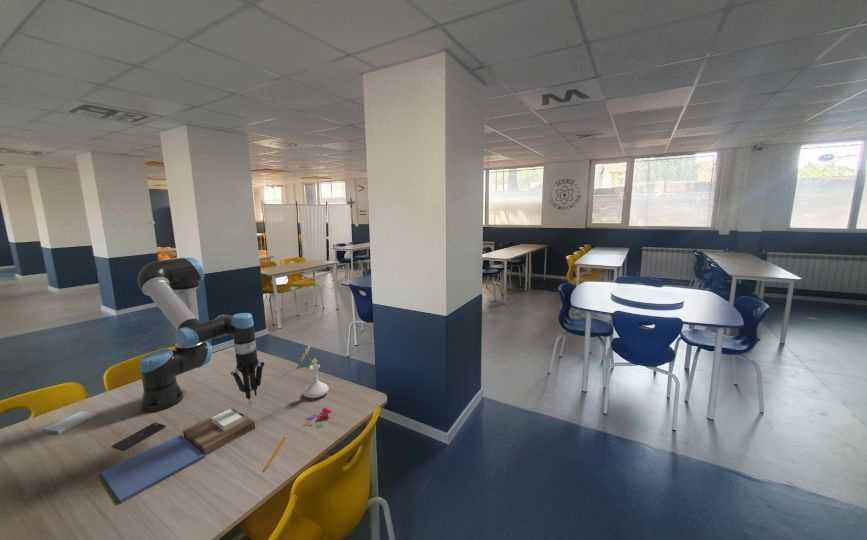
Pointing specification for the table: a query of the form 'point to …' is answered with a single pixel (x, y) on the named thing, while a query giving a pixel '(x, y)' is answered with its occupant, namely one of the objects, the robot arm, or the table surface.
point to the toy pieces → (320, 416)
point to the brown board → (216, 433)
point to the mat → (151, 467)
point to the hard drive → (68, 422)
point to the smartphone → (138, 436)
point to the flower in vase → (314, 379)
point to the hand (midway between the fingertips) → (252, 404)
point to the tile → (227, 419)
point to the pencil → (275, 451)
